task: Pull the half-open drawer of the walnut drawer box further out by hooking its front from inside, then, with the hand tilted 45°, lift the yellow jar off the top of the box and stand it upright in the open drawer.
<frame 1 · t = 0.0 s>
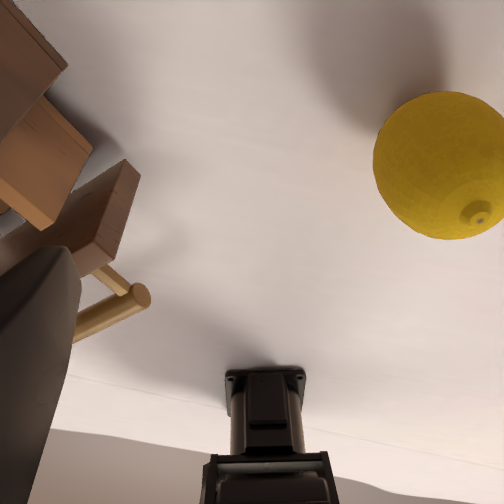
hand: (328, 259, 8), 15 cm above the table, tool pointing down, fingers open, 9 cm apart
lemon: (412, 121, 22), on the table
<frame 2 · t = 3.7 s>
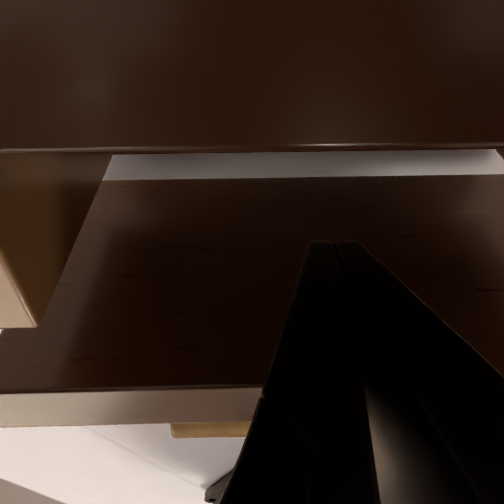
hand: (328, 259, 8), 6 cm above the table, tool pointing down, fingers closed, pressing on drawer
drawer: (329, 107, 7), point 4 cm above the table, slide at 4.7 cm, touching gripper
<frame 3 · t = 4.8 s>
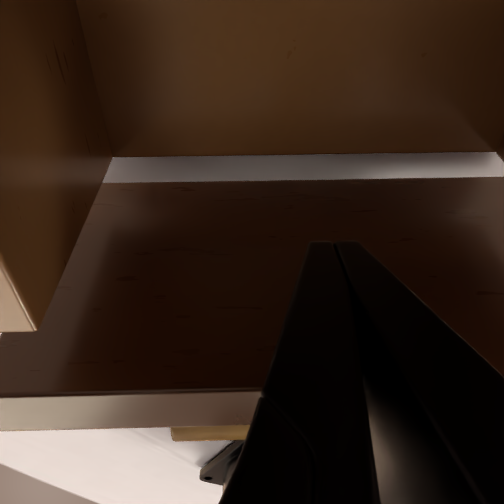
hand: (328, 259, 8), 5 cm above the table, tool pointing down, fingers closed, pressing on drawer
drawer: (329, 110, 7), point 4 cm above the table, slide at 8.4 cm, touching gripper
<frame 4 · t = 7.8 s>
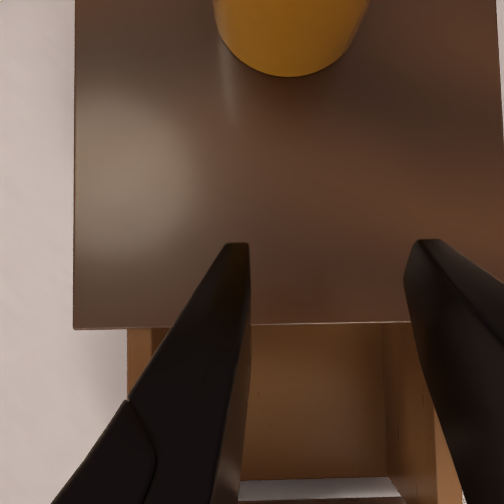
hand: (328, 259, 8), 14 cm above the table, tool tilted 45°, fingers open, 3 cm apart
yellow jar: (287, 5, 14), point 8 cm above the table, touching cabinet
cabinet: (272, 158, 22), on the table
drawer: (286, 451, 17), point 4 cm above the table, slide at 8.4 cm
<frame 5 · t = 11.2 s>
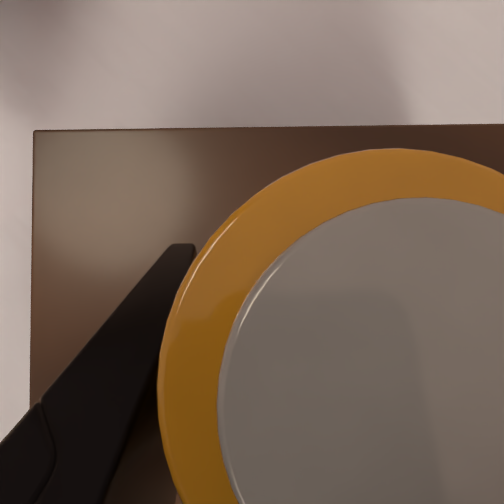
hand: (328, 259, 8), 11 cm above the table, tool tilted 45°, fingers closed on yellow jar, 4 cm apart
yellow jar: (306, 323, 10), point 8 cm above the table, touching cabinet, gripper
cabinet: (281, 364, 18), on the table
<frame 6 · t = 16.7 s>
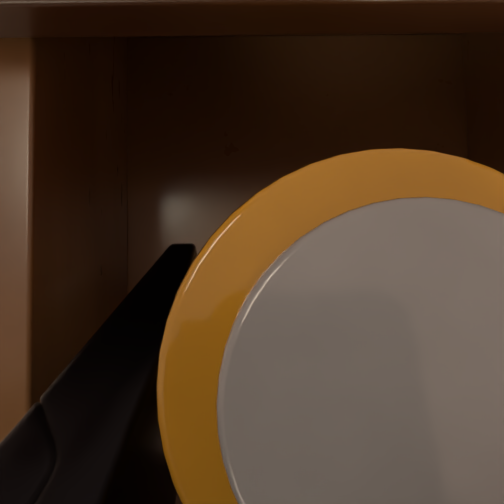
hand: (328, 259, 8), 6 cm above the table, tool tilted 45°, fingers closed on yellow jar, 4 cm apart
yellow jar: (306, 323, 10), point 3 cm above the table, touching gripper
drawer: (317, 364, 9), point 4 cm above the table, slide at 8.4 cm, touching gripper
when the fingers open (6 cm above the table, at t = 23.1 s): yellow jar drops 2 cm, resting on drawer.
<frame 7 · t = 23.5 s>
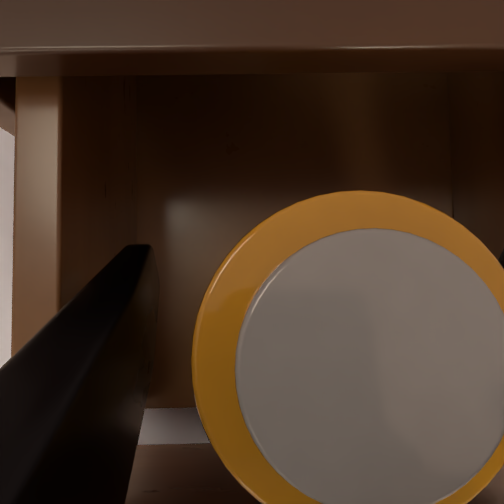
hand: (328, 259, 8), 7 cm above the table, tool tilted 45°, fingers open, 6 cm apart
yellow jar: (301, 319, 12), point 2 cm above the table, touching drawer
drawer: (310, 342, 10), point 4 cm above the table, slide at 8.0 cm, touching yellow jar
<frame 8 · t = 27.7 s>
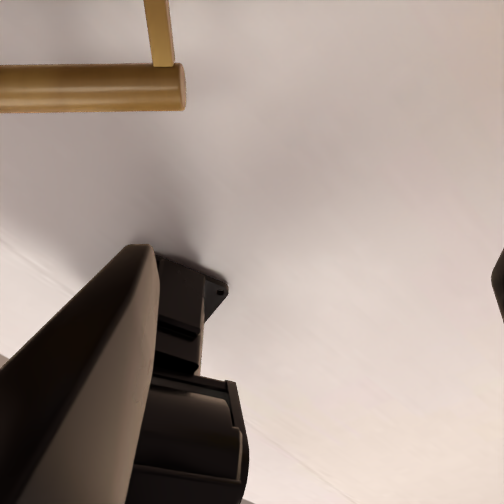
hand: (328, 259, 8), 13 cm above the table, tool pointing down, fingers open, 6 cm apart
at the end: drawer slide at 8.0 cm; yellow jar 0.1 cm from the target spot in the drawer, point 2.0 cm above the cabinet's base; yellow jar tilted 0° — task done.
